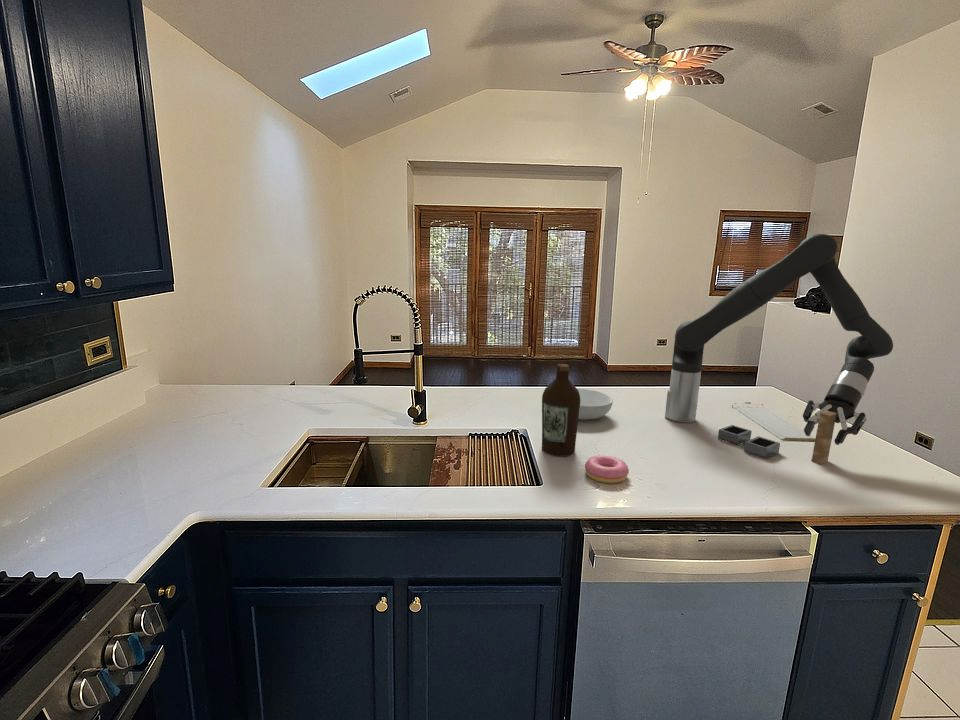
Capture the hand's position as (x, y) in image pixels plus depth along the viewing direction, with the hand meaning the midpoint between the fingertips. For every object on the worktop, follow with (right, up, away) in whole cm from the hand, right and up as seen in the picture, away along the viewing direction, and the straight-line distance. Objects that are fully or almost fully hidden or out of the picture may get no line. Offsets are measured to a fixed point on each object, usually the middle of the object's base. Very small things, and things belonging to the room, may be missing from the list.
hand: (821, 438), depth 136 cm
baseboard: (+4, 0, +32) cm, 33 cm away
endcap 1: (-15, -3, +17) cm, 23 cm away
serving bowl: (-58, +2, +37) cm, 69 cm away
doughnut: (-61, -8, -8) cm, 62 cm away
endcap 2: (-12, -5, +8) cm, 15 cm away
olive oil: (-71, -4, +7) cm, 71 cm away
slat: (+1, -7, +2) cm, 7 cm away
